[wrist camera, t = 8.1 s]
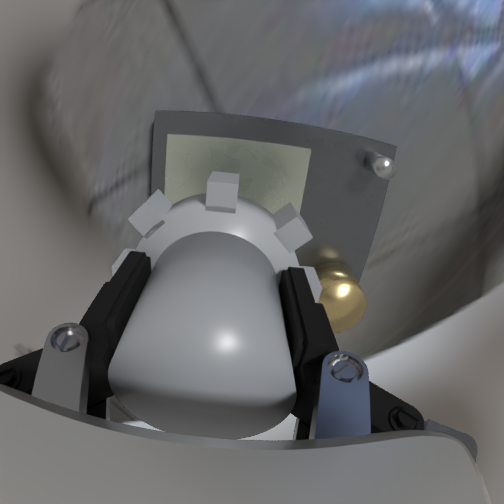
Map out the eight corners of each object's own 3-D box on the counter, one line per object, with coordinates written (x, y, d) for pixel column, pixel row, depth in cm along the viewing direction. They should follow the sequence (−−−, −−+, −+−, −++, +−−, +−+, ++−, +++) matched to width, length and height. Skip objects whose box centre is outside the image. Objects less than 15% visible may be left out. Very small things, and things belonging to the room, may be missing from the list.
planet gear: (332, 186, 11) (420, 278, 5) (292, 343, 15) (312, 458, 9) (122, 165, 10) (11, 237, 4) (134, 327, 14) (95, 436, 8)
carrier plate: (389, 144, 18) (419, 154, 14) (343, 304, 25) (357, 336, 21) (160, 110, 17) (138, 111, 13) (158, 287, 23) (144, 319, 20)
